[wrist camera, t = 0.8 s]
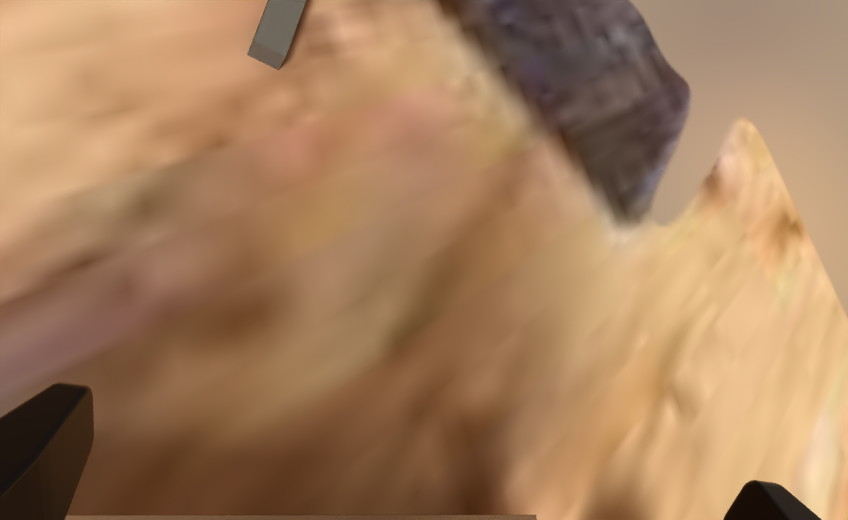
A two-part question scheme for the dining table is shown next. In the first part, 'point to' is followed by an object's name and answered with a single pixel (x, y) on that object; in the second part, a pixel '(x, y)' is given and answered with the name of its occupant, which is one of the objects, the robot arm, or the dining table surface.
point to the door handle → (276, 31)
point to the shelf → (300, 517)
